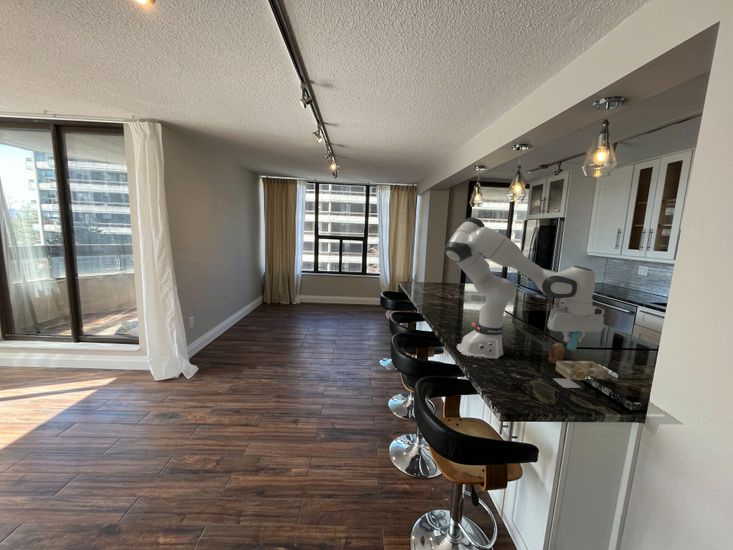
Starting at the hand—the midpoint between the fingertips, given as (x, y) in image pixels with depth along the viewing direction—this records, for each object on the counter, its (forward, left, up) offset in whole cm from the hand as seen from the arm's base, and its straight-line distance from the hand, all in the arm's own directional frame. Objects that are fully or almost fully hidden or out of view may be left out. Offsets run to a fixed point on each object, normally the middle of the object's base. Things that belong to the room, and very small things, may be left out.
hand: (572, 341), depth 119 cm
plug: (0, 0, -3) cm, 3 cm away
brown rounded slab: (+10, +22, -19) cm, 30 cm away
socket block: (+11, +7, -18) cm, 22 cm away
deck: (0, 0, -18) cm, 18 cm away
